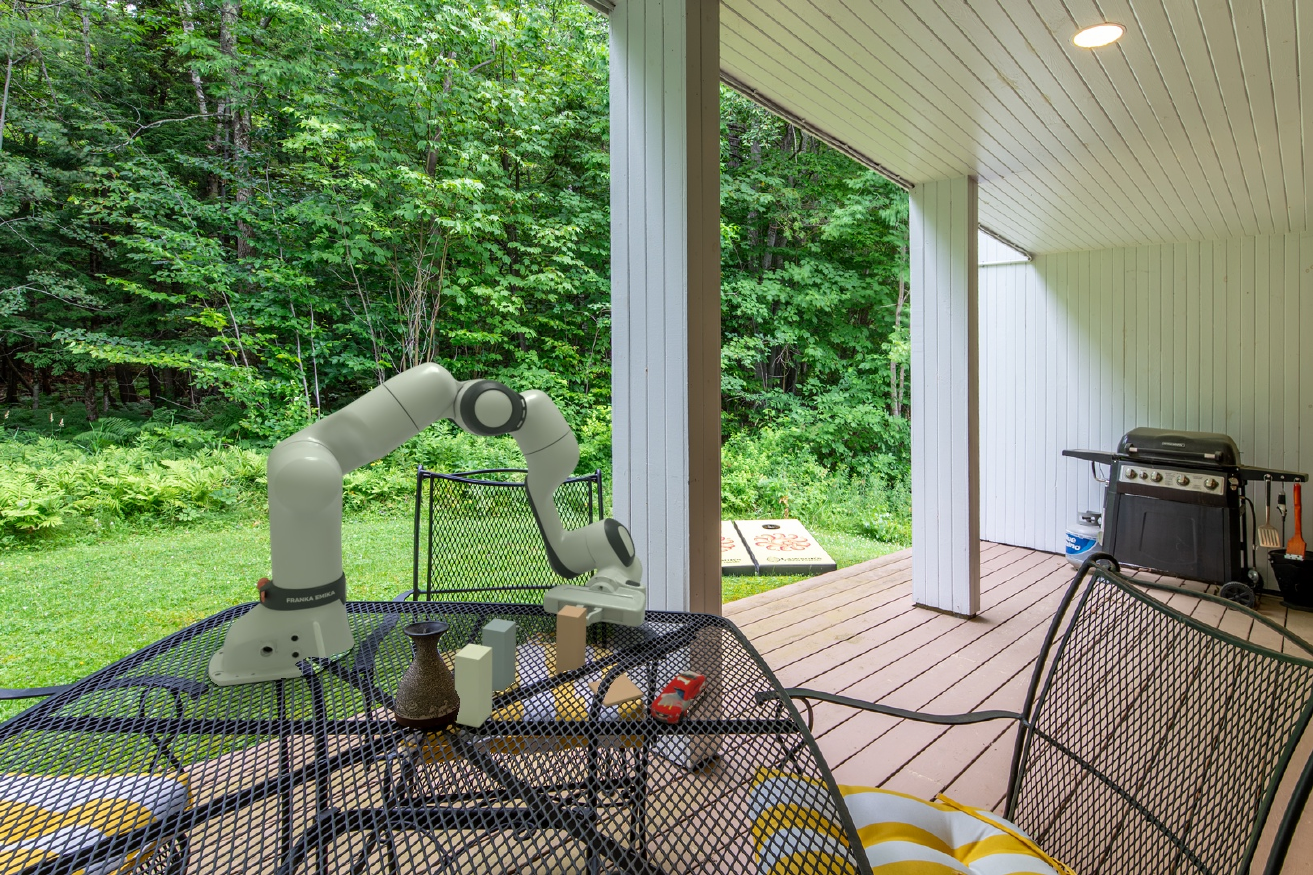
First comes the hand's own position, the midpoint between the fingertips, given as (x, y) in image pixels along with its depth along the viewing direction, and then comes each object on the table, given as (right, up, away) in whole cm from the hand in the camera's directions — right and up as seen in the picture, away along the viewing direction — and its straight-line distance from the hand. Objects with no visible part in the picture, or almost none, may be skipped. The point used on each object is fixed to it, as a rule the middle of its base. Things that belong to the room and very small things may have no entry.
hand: (581, 621), depth 118 cm
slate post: (-13, -8, -10) cm, 18 cm away
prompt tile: (+7, -9, -10) cm, 15 cm away
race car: (+18, -10, -13) cm, 24 cm away
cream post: (-14, -9, -19) cm, 26 cm away
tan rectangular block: (-1, -7, -4) cm, 8 cm away
